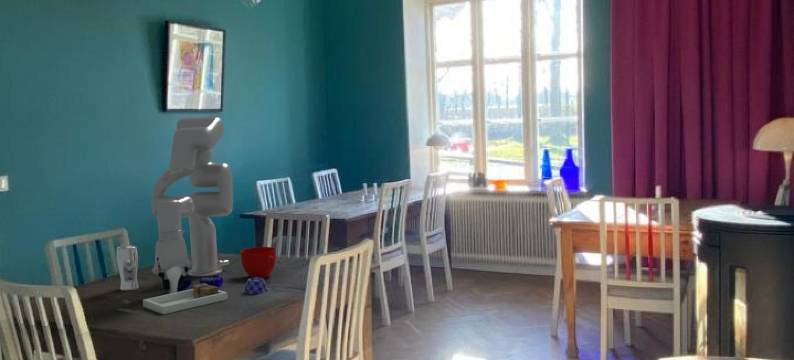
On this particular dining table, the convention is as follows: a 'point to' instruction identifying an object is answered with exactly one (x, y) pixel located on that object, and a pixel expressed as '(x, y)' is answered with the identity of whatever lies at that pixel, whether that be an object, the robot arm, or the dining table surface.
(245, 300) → the dining table surface
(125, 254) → the beer glass
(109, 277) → the dining table surface
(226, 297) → the tray
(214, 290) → the walnut block
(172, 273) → the lightbulb
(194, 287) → the walnut block
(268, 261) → the ceramic cup
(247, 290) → the pudding
